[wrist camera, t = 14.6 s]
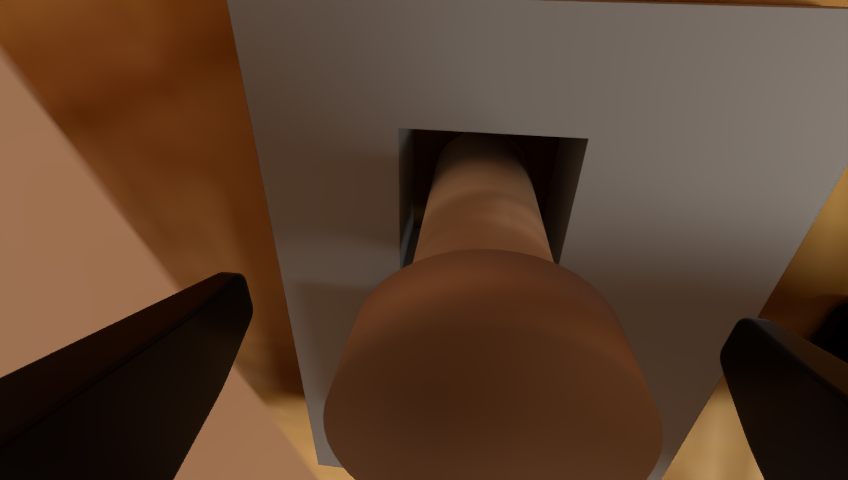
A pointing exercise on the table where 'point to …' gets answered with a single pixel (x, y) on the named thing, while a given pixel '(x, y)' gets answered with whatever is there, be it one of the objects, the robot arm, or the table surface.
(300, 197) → the base plate
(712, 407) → the table surface
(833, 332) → the robot arm
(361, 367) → the birch peg
